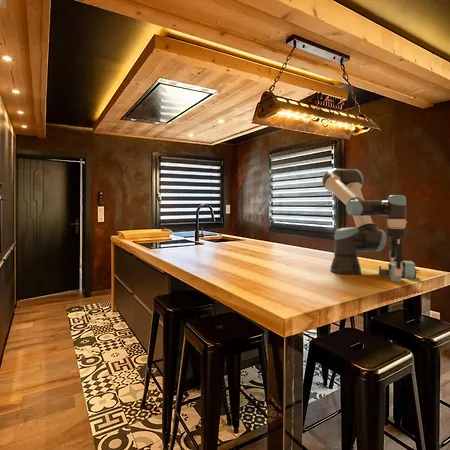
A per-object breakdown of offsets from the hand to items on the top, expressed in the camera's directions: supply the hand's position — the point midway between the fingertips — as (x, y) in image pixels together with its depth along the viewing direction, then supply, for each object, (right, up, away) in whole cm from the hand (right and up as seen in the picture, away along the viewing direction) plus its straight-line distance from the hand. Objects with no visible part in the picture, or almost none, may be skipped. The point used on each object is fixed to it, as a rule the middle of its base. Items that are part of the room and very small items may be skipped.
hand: (395, 273), depth 151 cm
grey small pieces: (+16, -2, +21) cm, 27 cm away
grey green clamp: (+5, -3, +9) cm, 11 cm away
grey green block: (0, -3, +1) cm, 3 cm away
